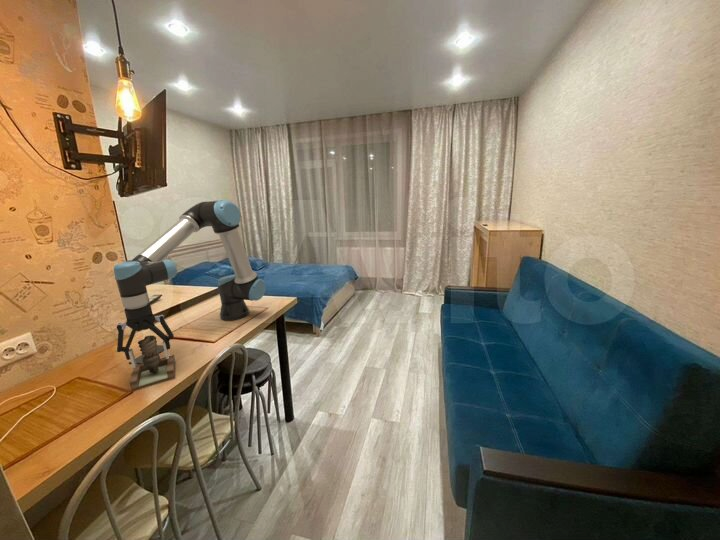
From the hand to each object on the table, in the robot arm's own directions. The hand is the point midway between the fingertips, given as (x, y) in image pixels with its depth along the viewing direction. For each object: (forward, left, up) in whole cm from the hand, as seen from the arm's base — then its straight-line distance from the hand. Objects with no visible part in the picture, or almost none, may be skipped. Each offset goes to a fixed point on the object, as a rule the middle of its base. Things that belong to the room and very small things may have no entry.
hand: (151, 361), depth 108 cm
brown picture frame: (0, 0, -6) cm, 6 cm away
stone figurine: (0, 0, -5) cm, 5 cm away
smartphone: (+3, -21, -7) cm, 22 cm away
